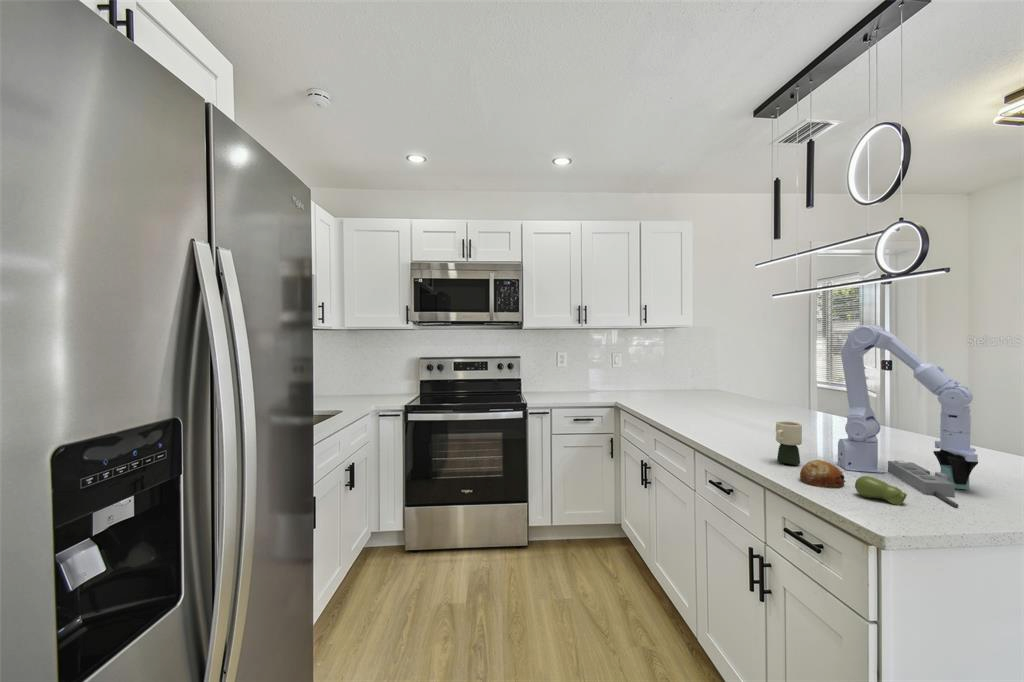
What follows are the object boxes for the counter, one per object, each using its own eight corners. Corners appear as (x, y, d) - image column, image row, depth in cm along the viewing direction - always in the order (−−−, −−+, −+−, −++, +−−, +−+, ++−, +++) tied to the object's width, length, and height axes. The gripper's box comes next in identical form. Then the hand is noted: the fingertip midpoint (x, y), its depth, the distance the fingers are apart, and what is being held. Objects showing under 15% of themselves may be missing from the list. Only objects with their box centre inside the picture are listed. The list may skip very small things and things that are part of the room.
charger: (942, 487, 118) (942, 468, 118) (933, 482, 122) (933, 464, 122) (969, 489, 117) (970, 470, 117) (959, 484, 121) (959, 466, 120)
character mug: (788, 458, 147) (788, 419, 147) (810, 464, 141) (810, 423, 140) (766, 463, 142) (766, 422, 142) (788, 469, 136) (788, 426, 136)
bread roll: (809, 488, 130) (796, 461, 132) (849, 479, 124) (834, 451, 126) (805, 497, 122) (791, 469, 124) (848, 489, 116) (832, 459, 118)
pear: (860, 470, 116) (910, 486, 109) (855, 489, 117) (905, 507, 110) (855, 475, 113) (906, 492, 105) (850, 494, 113) (901, 513, 106)
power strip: (944, 506, 106) (945, 491, 106) (887, 471, 133) (887, 458, 133) (977, 509, 104) (977, 493, 104) (912, 473, 131) (912, 460, 131)
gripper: (993, 438, 111) (992, 492, 111) (957, 426, 125) (956, 474, 125) (957, 436, 113) (957, 489, 113) (925, 424, 127) (925, 472, 127)
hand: (954, 481), depth 119 cm, fingers closed on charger, 4 cm apart
